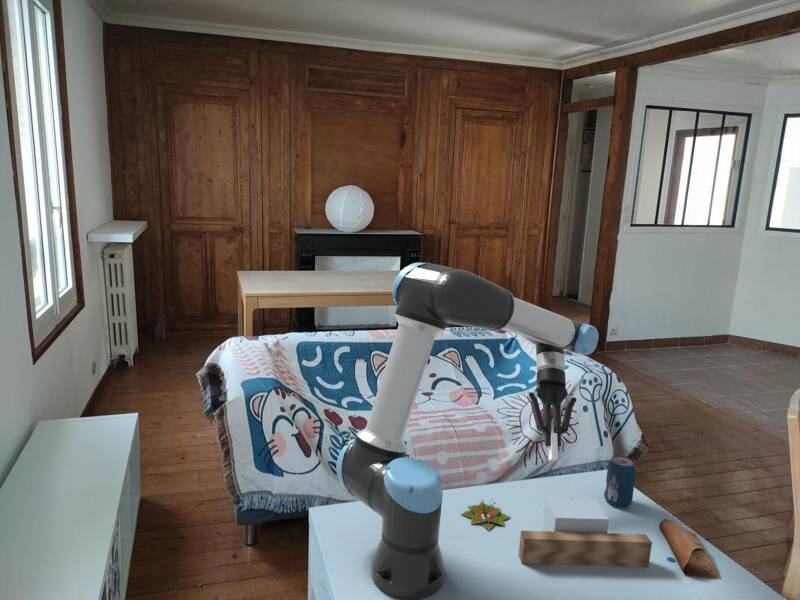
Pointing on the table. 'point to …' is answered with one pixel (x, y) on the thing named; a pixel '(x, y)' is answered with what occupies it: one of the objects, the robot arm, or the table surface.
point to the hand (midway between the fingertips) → (553, 459)
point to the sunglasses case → (688, 551)
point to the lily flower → (485, 515)
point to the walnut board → (584, 548)
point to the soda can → (620, 482)
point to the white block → (574, 516)
